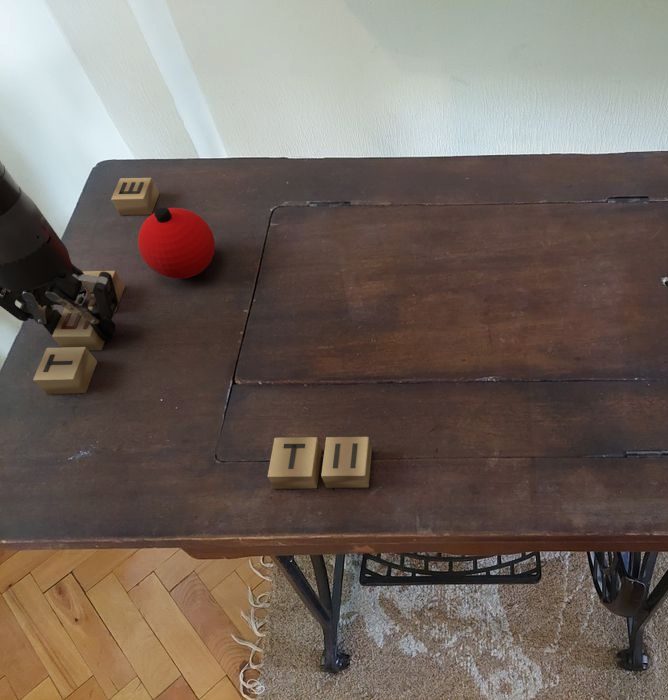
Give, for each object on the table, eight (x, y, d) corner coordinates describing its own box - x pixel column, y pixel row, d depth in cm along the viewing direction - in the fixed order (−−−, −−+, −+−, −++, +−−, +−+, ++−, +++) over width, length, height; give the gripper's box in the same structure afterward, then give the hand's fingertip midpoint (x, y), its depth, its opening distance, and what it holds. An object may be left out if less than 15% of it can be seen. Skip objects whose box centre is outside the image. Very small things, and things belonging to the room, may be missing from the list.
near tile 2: (274, 488, 68) (267, 476, 66) (281, 450, 71) (274, 437, 69) (317, 488, 68) (311, 476, 66) (322, 449, 71) (317, 436, 69)
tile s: (101, 350, 79) (89, 335, 76) (64, 351, 79) (51, 335, 76) (112, 321, 81) (101, 306, 79) (76, 321, 81) (64, 306, 79)
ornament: (154, 299, 84) (120, 243, 76) (154, 250, 89) (123, 193, 81) (225, 285, 85) (200, 229, 77) (222, 238, 90) (198, 180, 82)
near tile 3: (326, 488, 68) (320, 475, 66) (330, 449, 71) (325, 436, 69) (368, 487, 68) (365, 475, 66) (372, 449, 71) (368, 435, 69)
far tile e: (151, 214, 93) (143, 198, 90) (120, 215, 93) (110, 198, 90) (159, 193, 95) (151, 176, 93) (128, 194, 95) (119, 177, 93)
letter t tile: (85, 393, 75) (72, 378, 73) (46, 394, 75) (32, 379, 73) (97, 361, 78) (85, 346, 75) (59, 362, 78) (46, 347, 75)
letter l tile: (115, 312, 82) (104, 297, 80) (79, 313, 82) (67, 297, 80) (125, 286, 85) (115, 270, 82) (90, 286, 85) (79, 270, 82)
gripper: (-80, 262, 64) (18, 361, 78) (66, 261, 64) (137, 360, 78) (-46, 210, 68) (41, 312, 82) (91, 209, 68) (154, 311, 82)
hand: (87, 335), depth 80 cm, fingers open, 4 cm apart
